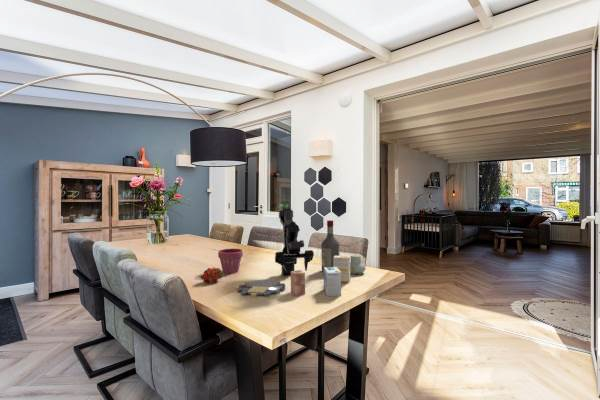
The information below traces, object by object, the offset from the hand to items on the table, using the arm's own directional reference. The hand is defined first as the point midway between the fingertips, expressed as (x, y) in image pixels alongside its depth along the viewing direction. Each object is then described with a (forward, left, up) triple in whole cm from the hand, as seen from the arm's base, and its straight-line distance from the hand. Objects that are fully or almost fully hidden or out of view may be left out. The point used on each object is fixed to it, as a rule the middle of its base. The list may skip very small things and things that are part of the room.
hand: (296, 271), depth 146 cm
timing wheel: (+14, -12, -10) cm, 20 cm away
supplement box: (-28, -5, -10) cm, 30 cm away
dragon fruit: (+34, -35, -10) cm, 49 cm away
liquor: (-33, -25, -10) cm, 43 cm away
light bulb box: (-14, +8, -10) cm, 19 cm away
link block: (+1, +2, -10) cm, 10 cm away
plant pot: (+20, -52, -10) cm, 56 cm away
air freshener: (-44, -15, -10) cm, 48 cm away
